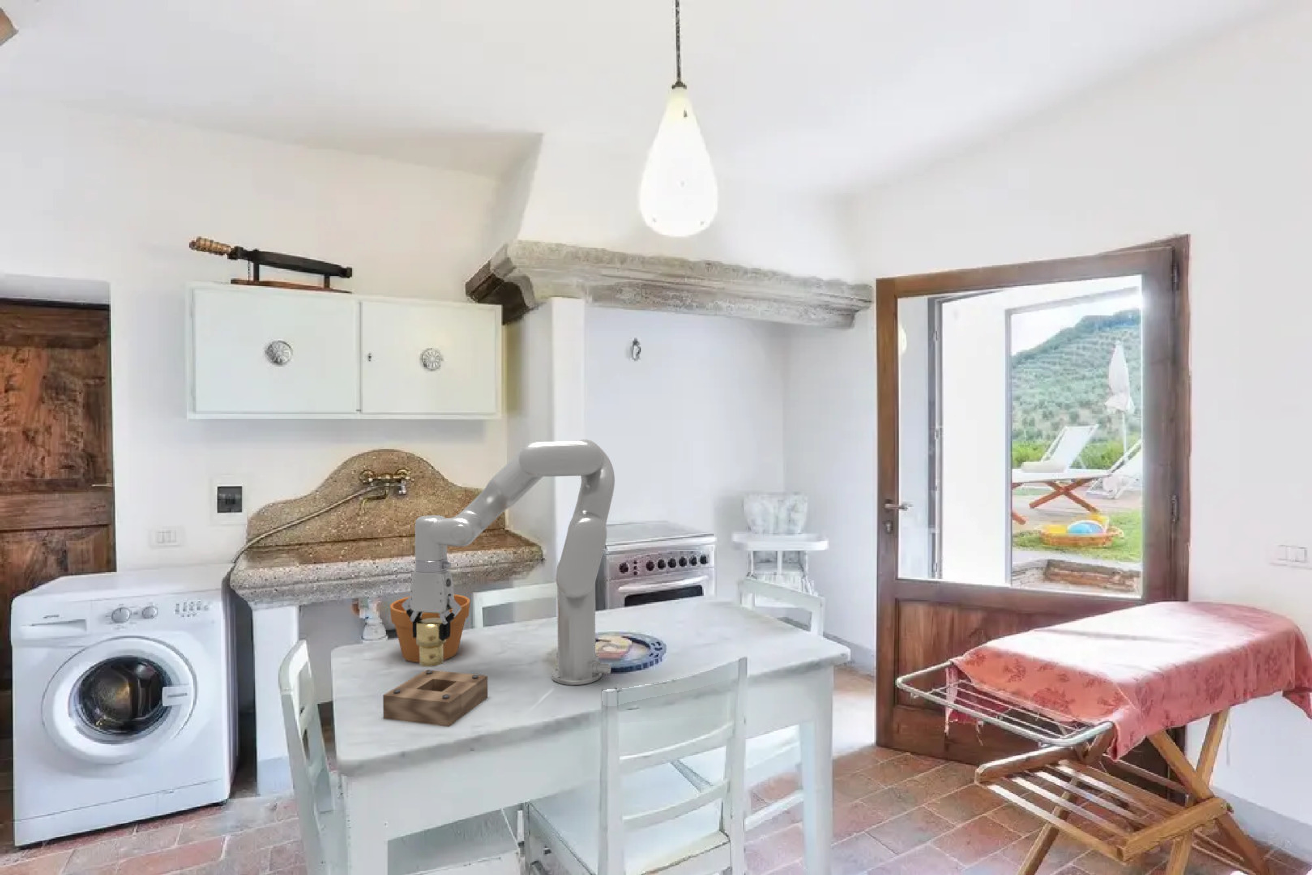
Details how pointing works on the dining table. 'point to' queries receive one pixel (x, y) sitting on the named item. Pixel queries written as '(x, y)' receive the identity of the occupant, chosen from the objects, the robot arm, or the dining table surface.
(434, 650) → the yellow translucent cylinder
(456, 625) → the flower pot
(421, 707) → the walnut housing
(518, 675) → the dining table surface
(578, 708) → the dining table surface
